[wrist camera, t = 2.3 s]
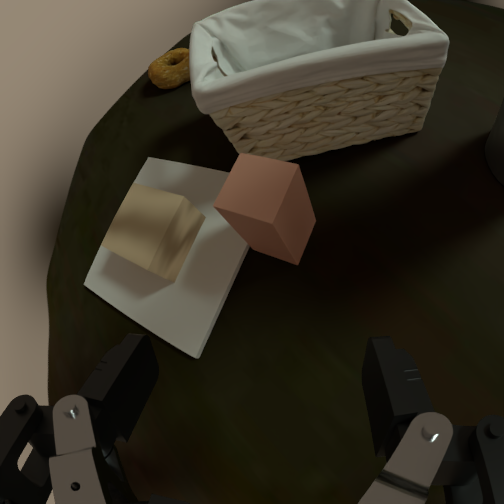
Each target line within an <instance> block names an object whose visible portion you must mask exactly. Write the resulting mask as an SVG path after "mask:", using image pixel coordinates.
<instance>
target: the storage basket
mask: <svg viewBox="0 0 504 504" xmlns="http://www.w3.org/2000/svg"><path fill="white" fill-rule="evenodd" d="M390 13H393V14H394V15H395V16H396V17H397V18H396V17H395V16H394V15H393V16H394V18H395V19H396V20H398V19H399V20H401V21H402V22H403V23H404V25H405V26H406V27H407V28H408V29H409V32H408V34H407V35H406V36H404V37H402V36H400V35H397V34H395V33H394V32H393V31H392V30H391V29H390V25H391V21H392V20H391V14H390ZM448 46H449V38H448V36H447V35H446V34H445V33H444V32H443V31H442V30H440V29H439V27H438V26H437V25H436V24H435V23H434V22H432V21H431V20H430V19H429V18H428V17H427V16H426V15H425V14H423V13H422V12H421V11H420V10H419V9H417V8H416V7H415V6H414V5H412V4H411V3H410V2H408V1H407V0H254V1H250V2H246V3H243V4H240V5H236V6H234V7H231V8H228V9H226V10H223V11H221V12H219V13H216V14H213V15H211V16H209V17H207V18H205V19H203V20H201V21H199V22H196V23H194V24H193V27H192V32H191V37H190V47H189V68H190V80H191V88H192V96H193V98H194V99H195V101H196V104H197V107H198V108H199V110H200V111H201V112H202V113H204V114H209V115H210V116H211V118H212V119H213V120H214V122H215V123H216V125H217V126H218V127H220V128H221V129H222V130H223V132H224V134H225V135H226V136H227V137H228V139H229V141H230V142H231V143H233V146H234V147H235V149H236V151H237V152H238V153H239V154H240V153H245V154H250V155H256V156H261V157H266V158H271V159H276V160H280V161H288V160H293V159H296V158H299V157H302V156H308V155H316V154H320V153H323V152H326V151H328V150H336V149H340V148H344V147H348V146H351V145H354V144H364V143H368V142H370V141H372V140H374V141H375V139H376V140H379V139H382V138H385V137H390V136H394V137H396V136H400V135H404V134H406V133H412V132H417V131H420V130H421V129H422V127H423V122H424V120H425V116H426V114H427V112H428V110H429V107H430V103H431V98H432V97H433V94H434V91H435V88H436V83H437V81H438V79H439V77H438V75H439V74H440V73H441V70H442V68H443V67H444V65H445V62H446V59H447V50H448Z"/></svg>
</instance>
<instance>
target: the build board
mask: <svg viewBox="0 0 504 504" xmlns="http://www.w3.org/2000/svg"><path fill="white" fill-rule="evenodd" d="M228 175H229V173H228V172H224V171H219V170H214V169H209V168H204V167H199V166H194V165H189V164H184V163H179V162H173V161H168V160H162V159H156V158H151V157H148V159H147V161H146V162H145V164H144V166H143V167H142V169H141V171H140V173H139V174H138V176H137V178H136V179H135V181H134V183H136V184H140V185H144V186H148V187H151V188H155V189H159V190H163V191H166V192H170V193H174V194H177V195H181V196H184V197H185V198H186V199H187V200H188V201H189V202H190V203H192V204H193V205H194V206H195V207H196V208H197V209H198V210H199V211H200V212H201V213H202V214H203V215H204V216H205V217H206V218H205V220H204V222H203V224H202V226H201V228H200V230H199V232H198V234H197V236H196V238H195V241H194V243H193V245H192V247H191V249H190V251H189V253H188V255H187V257H186V259H185V261H184V263H183V266H182V268H181V270H180V272H179V274H178V276H177V278H176V281H175V283H174V282H172V281H169V280H167V279H165V278H163V277H161V276H159V275H157V274H154V273H152V272H150V271H148V270H146V269H144V268H142V267H140V266H138V265H137V264H135V263H133V262H131V261H129V260H127V259H125V258H123V257H121V256H120V255H118V254H116V253H114V252H112V251H110V250H108V249H107V248H105V247H103V246H101V247H100V249H99V251H98V253H97V255H96V257H95V260H94V262H93V264H92V266H91V269H90V271H89V273H88V275H87V278H86V280H85V282H84V285H85V286H86V287H88V288H89V289H90V290H92V291H93V292H95V293H96V294H97V295H99V296H100V297H101V298H103V299H104V300H106V301H107V302H108V303H110V304H111V305H113V306H114V307H115V308H117V309H118V310H120V311H121V312H123V313H124V314H126V315H127V316H128V317H130V318H131V319H133V320H134V321H136V322H137V323H139V324H140V325H142V326H143V327H145V328H147V329H148V330H150V331H151V332H153V333H154V334H156V335H158V336H159V337H161V338H162V339H164V340H166V341H167V342H169V343H170V344H172V345H174V346H175V347H177V348H179V349H180V350H182V351H184V352H185V353H187V354H189V355H190V356H192V357H194V358H199V357H200V355H201V353H202V351H203V348H204V346H205V344H206V342H207V340H208V337H209V335H210V333H211V331H212V329H213V326H214V324H215V322H216V320H217V317H218V315H219V313H220V311H221V309H222V306H223V304H224V302H225V300H226V298H227V295H228V293H229V291H230V289H231V287H232V284H233V282H234V280H235V278H236V276H237V273H238V271H239V269H240V267H241V265H242V262H243V260H244V258H245V256H246V254H247V251H248V249H249V247H250V246H249V245H248V243H247V242H246V241H245V240H244V239H243V238H242V237H241V236H240V235H239V234H238V233H237V232H236V231H235V229H234V228H233V227H232V226H231V225H230V224H229V223H228V222H227V221H226V220H225V219H224V218H223V217H222V215H221V214H220V213H219V212H218V211H217V210H216V209H215V208H214V207H213V204H214V202H215V200H216V199H217V197H218V195H219V193H220V191H221V189H222V187H223V185H224V183H225V181H226V179H227V177H228Z"/></svg>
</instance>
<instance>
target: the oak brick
mask: <svg viewBox="0 0 504 504" xmlns="http://www.w3.org/2000/svg"><path fill="white" fill-rule="evenodd" d="M205 218H206V217H205V216H204V215H203V214H202V213H201V212H200V211H199V210H198V209H197V208H196V207H195V206H194V205H193V204H192V203H190V202H189V201H188V200H187V199H186V198H185V197H184V196H181V195H177V194H174V193H170V192H166V191H163V190H159V189H155V188H151V187H148V186H144V185H140V184H136V183H133V184H132V186H131V188H130V190H129V191H128V193H127V195H126V197H125V199H124V201H123V202H122V204H121V206H120V208H119V210H118V212H117V214H116V216H115V218H114V220H113V222H112V224H111V226H110V228H109V230H108V232H107V234H106V236H105V238H104V240H103V242H102V244H101V246H103V247H105V248H107V249H108V250H110V251H112V252H114V253H116V254H118V255H120V256H121V257H123V258H125V259H127V260H129V261H131V262H133V263H135V264H137V265H138V266H140V267H142V268H144V269H146V270H148V271H150V272H152V273H154V274H157V275H159V276H161V277H163V278H165V279H167V280H169V281H172V282H174V283H175V281H176V278H177V276H178V274H179V272H180V270H181V268H182V266H183V263H184V261H185V259H186V257H187V255H188V253H189V251H190V249H191V247H192V245H193V243H194V241H195V238H196V236H197V234H198V232H199V230H200V228H201V226H202V224H203V222H204V220H205Z"/></svg>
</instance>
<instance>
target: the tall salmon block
mask: <svg viewBox="0 0 504 504" xmlns="http://www.w3.org/2000/svg"><path fill="white" fill-rule="evenodd" d="M213 207H214V208H215V209H216V210H217V211H218V212H219V213H220V214H221V215H222V217H223V218H224V219H225V220H226V221H227V222H228V223H229V224H230V225H231V226H232V227H233V228H234V229H235V231H236V232H237V233H238V234H239V235H240V236H241V237H242V238H243V239H244V240H245V241H246V242H247V243H248V245H249V246H250V247H251V248H252V249H253V250H255V251H258V252H261V253H264V254H267V255H270V256H272V257H275V258H278V259H281V260H284V261H287V262H289V263H292V264H295V265H298V264H299V261H300V259H301V257H302V254H303V252H304V249H305V247H306V244H307V242H308V239H309V237H310V234H311V232H312V229H313V227H314V224H315V222H316V219H315V215H314V212H313V209H312V205H311V202H310V199H309V196H308V192H307V189H306V186H305V183H304V180H303V177H302V173H301V170H300V167H299V164H294V163H290V162H285V161H280V160H276V159H271V158H266V157H261V156H256V155H250V154H245V153H240V155H239V157H238V158H237V160H236V162H235V164H234V166H233V168H232V170H231V172H230V173H229V175H228V177H227V179H226V181H225V183H224V185H223V187H222V189H221V191H220V193H219V195H218V197H217V199H216V200H215V202H214V204H213Z"/></svg>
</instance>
